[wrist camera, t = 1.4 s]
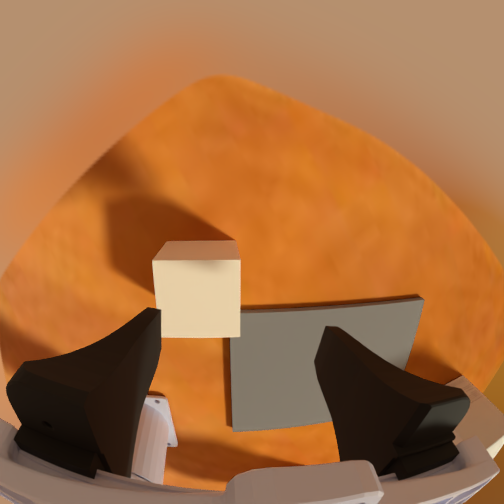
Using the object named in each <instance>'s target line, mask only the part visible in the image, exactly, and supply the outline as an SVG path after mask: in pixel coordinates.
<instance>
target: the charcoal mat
mask: <svg viewBox="0 0 504 504" xmlns="http://www.w3.org/2000/svg"><path fill="white" fill-rule="evenodd" d="M423 304H424V299H423V298H421V297H418V298H410V299H401V300H391V301H381V302H371V303H359V304H347V305H334V306H319V307H302V308H282V309H257V310H240V337H230V366H231V400H232V427H233V432H243V431H259V430H271V429H281V428H290V427H298V426H305V425H312V424H318V423H324V422H330V421H332V418H331V415H330V412H329V410H328V407H327V404H326V401H325V399H324V396H323V393H322V391H321V388H320V385H319V382H318V379H317V375H316V370H315V365H314V359H315V356H316V353H317V350H318V347H319V344H320V341H321V338H322V335H323V332H324V329H325V326H338V327H339V328H341V329H343V330H344V331H345V332H347V333H348V334H350V335H351V336H352V337H354V338H355V339H356V340H357V341H359V342H360V343H361V344H363V345H364V346H365V347H367V348H368V349H370V350H371V351H372V352H374V353H375V354H377V355H378V356H380V357H381V358H383V359H384V360H386V361H388V362H389V363H391V364H393V365H395V366H396V367H398V368H400V369H402V370H405V367H406V364H407V361H408V358H409V355H410V352H411V348H412V345H413V342H414V338H415V335H416V331H417V328H418V324H419V320H420V316H421V312H422V308H423Z"/></svg>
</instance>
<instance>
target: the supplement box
mask: <svg viewBox="0 0 504 504" xmlns="http://www.w3.org/2000/svg"><path fill="white" fill-rule="evenodd" d="M446 385H447V386H451V387H456V388H461V389H462V390H463V391H464V392H465V393H466V395H467V396H468V397H469V399H470V407H469V409H468V412H467V413H466V415H465V416H464V418H463V419H462V420H461V422H460V423H459V424H458V426H457V427H456V428H455V429H454V431H453V433H454V435H455V436H456V438H455V439H454V440H453V443H454V444H455V446H456V445H457V444H458V443H460V442H461V441H464V440H466V439H468V438H470V437H473V436H477V437H478V438H479V440H480V441H481V442H482V444H483V445H484V447H485V448H486V450H487V451H488V453H489V454H490V456H491V457H492V459H493V458H494V457H495V455H496V454H497V453H498V451H499V450H500V449H501V447H502V445H503V444H504V414H503V413H502V412H501V411H500V410H498V408H496V406H495V405H494V404H493V403H491V401H489V400H488V399H487V398H486V397H485V396H484V395H483V394H482V393H481V392H480V391H479V390H478V389H477V388H476V387H475V386H474V385H473V384H472V383H471V382H470V381H469V380H467V379H466V378H465V377H464V376H463V375H462V376H460V377H459V378H457V379H455V380H453V381H451V382H449V383H447V384H446Z"/></svg>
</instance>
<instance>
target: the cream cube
mask: <svg viewBox="0 0 504 504" xmlns="http://www.w3.org/2000/svg"><path fill="white" fill-rule="evenodd" d="M152 266H153V277H154V288H155V297H156V306H157V309H161V337H172V338H224V337H240V256H239V251H238V247H237V243H236V240H218V241H167V242H166V243H165V244H164V246H163V247H162V248H161V249H160V251H159V252H158V253H157V255H156V256H155V257H154V259H153V260H152Z"/></svg>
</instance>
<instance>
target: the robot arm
mask: <svg viewBox="0 0 504 504" xmlns="http://www.w3.org/2000/svg"><path fill="white" fill-rule="evenodd" d="M160 352H161V309H155V308H149V307H148V308H146V309H145V310H143V311H142V312H141V313H139V314H138V315H137V316H136V317H134V318H133V319H132V320H130V321H129V322H128V323H126V324H125V325H123V326H122V327H121V328H119V329H118V330H116V331H114V332H113V333H111V334H110V335H108V336H107V337H105V338H103V339H101V340H99V341H97V342H95V343H93V344H91V345H89V346H87V347H84V348H81V349H79V350H76V351H73V352H71V353H68V354H64V355H61V356H56V357H52V358H47V359H41V360H34V361H25V362H24V363H23V364H22V365H21V366H20V368H19V369H18V370H17V372H16V373H15V374H14V376H13V377H12V378H11V380H10V381H9V382H8V384H7V386H6V392H7V396H8V399H9V401H10V403H11V405H12V407H13V409H14V411H15V413H16V415H17V417H18V418H19V420H20V422H21V424H22V425H21V427H20V428H19V430H17V429H16V428H15V427H14V426H13V425H11V424H10V423H8V422H6V421H4V420H2V419H0V495H1V496H2V497H4V498H5V499H7V500H9V501H10V502H12V503H14V504H462V503H464V502H465V501H467V500H468V499H469V498H470V497H472V496H473V495H474V494H475V493H476V492H478V491H479V490H480V489H481V488H482V487H484V486H485V485H486V484H487V483H488V482H489V481H490V480H491V479H492V478H493V477H494V476H496V475H497V474H498V473H499V471H500V469H499V468H498V466H497V465H496V463H495V462H494V460H493V459H492V457H491V456H490V454H489V453H488V451H487V450H486V448H485V447H484V445H483V444H482V442H481V441H480V440H479V438H478V437H477V436H473V437H470V438H468V439H466V440H464V441H461V442H460V443H458V444H457V445H456V446H455V444H454V443H453V440H454V439H455V438H456V436H455V435H454V433H453V431H454V429H455V428H456V427H457V426H458V424H459V423H460V422H461V420H462V419H463V418H464V416H465V415H466V413H467V412H468V409H469V407H470V399H469V397H468V396H467V395H466V393H465V392H464V391H463V390H462V389H461V388H456V387H451V386H447V385H442V384H438V383H435V382H432V381H428V380H426V379H423V378H420V377H418V376H415V375H413V374H410V373H408V372H406V371H404V370H402V369H400V368H398V367H396V366H395V365H393V364H391V363H389V362H388V361H386V360H384V359H383V358H381V357H380V356H378V355H377V354H375V353H374V352H372V351H371V350H370V349H368V348H367V347H365V346H364V345H363V344H361V343H360V342H359V341H357V340H356V339H355V338H354V337H352V336H351V335H350V334H348V333H347V332H345V331H344V330H343V329H341V328H339V327H338V326H325V329H324V332H323V335H322V338H321V341H320V344H319V347H318V350H317V353H316V356H315V359H314V365H315V370H316V375H317V379H318V382H319V385H320V388H321V391H322V393H323V396H324V399H325V401H326V404H327V407H328V410H329V412H330V415H331V418H332V421H333V425H334V430H335V434H336V439H337V444H338V450H339V456H340V462H335V463H327V464H318V465H306V466H291V467H269V468H261V469H252V470H249V471H246V472H243V473H240V474H237V475H236V476H234V477H233V478H232V479H231V480H230V481H229V482H228V483H227V486H226V490H225V491H212V490H200V489H191V488H182V487H175V486H168V485H163V476H164V467H165V459H166V451H167V447H177V446H178V441H177V437H176V433H175V429H174V425H173V421H172V416H171V412H170V408H169V403H168V399H167V398H166V397H164V396H154V395H147V393H148V390H149V388H150V385H151V382H152V379H153V377H154V374H155V371H156V368H157V365H158V361H159V356H160ZM157 400H159V401H157Z"/></svg>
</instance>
